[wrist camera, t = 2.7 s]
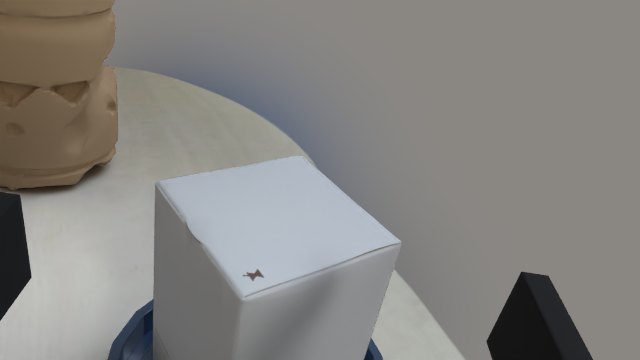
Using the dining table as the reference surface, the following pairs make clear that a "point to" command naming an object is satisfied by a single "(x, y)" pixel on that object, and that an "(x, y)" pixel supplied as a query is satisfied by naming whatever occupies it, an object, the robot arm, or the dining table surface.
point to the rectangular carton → (266, 266)
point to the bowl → (137, 339)
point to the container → (55, 91)
